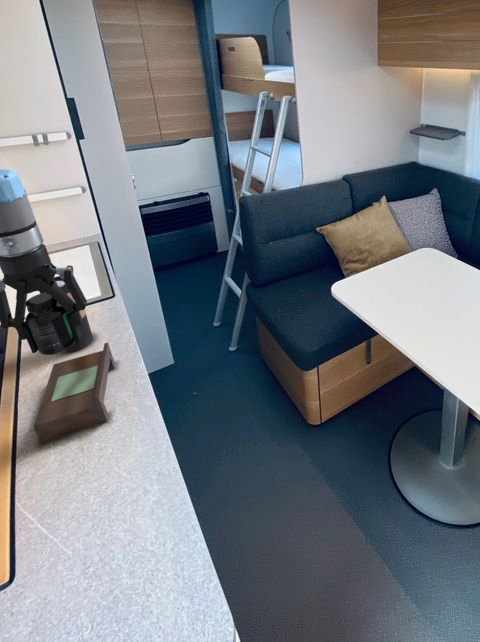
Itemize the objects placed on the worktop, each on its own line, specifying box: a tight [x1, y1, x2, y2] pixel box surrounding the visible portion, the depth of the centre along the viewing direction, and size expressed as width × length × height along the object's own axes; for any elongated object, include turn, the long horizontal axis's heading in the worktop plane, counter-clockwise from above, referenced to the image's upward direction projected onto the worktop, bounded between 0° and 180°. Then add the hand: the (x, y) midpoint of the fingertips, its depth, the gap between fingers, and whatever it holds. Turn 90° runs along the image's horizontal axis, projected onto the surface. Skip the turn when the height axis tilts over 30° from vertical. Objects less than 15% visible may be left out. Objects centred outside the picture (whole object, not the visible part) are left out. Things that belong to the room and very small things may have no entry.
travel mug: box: [38, 275, 94, 353], centre depth 111 cm, size 8×8×20 cm
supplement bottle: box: [25, 293, 75, 356], centre depth 86 cm, size 7×7×12 cm
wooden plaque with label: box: [33, 342, 116, 444], centre depth 95 cm, size 12×20×7 cm, turn 26°
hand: (57, 343), depth 88 cm, fingers closed on supplement bottle, 7 cm apart
